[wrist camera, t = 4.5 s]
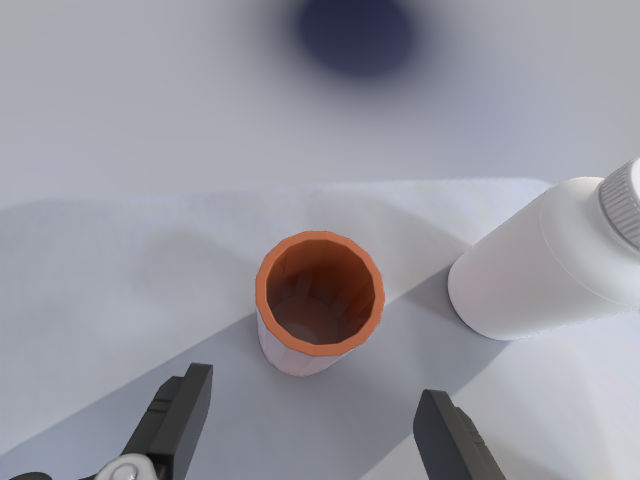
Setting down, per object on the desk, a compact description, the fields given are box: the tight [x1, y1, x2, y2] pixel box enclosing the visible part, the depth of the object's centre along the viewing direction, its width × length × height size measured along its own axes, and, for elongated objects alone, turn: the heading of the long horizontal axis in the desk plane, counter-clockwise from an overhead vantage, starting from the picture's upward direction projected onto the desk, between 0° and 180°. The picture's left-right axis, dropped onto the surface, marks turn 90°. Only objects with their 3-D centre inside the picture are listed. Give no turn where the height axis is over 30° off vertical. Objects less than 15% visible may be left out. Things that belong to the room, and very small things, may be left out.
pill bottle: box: [448, 157, 640, 340], centre depth 22 cm, size 8×8×15 cm
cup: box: [255, 231, 385, 376], centre depth 20 cm, size 6×6×10 cm
